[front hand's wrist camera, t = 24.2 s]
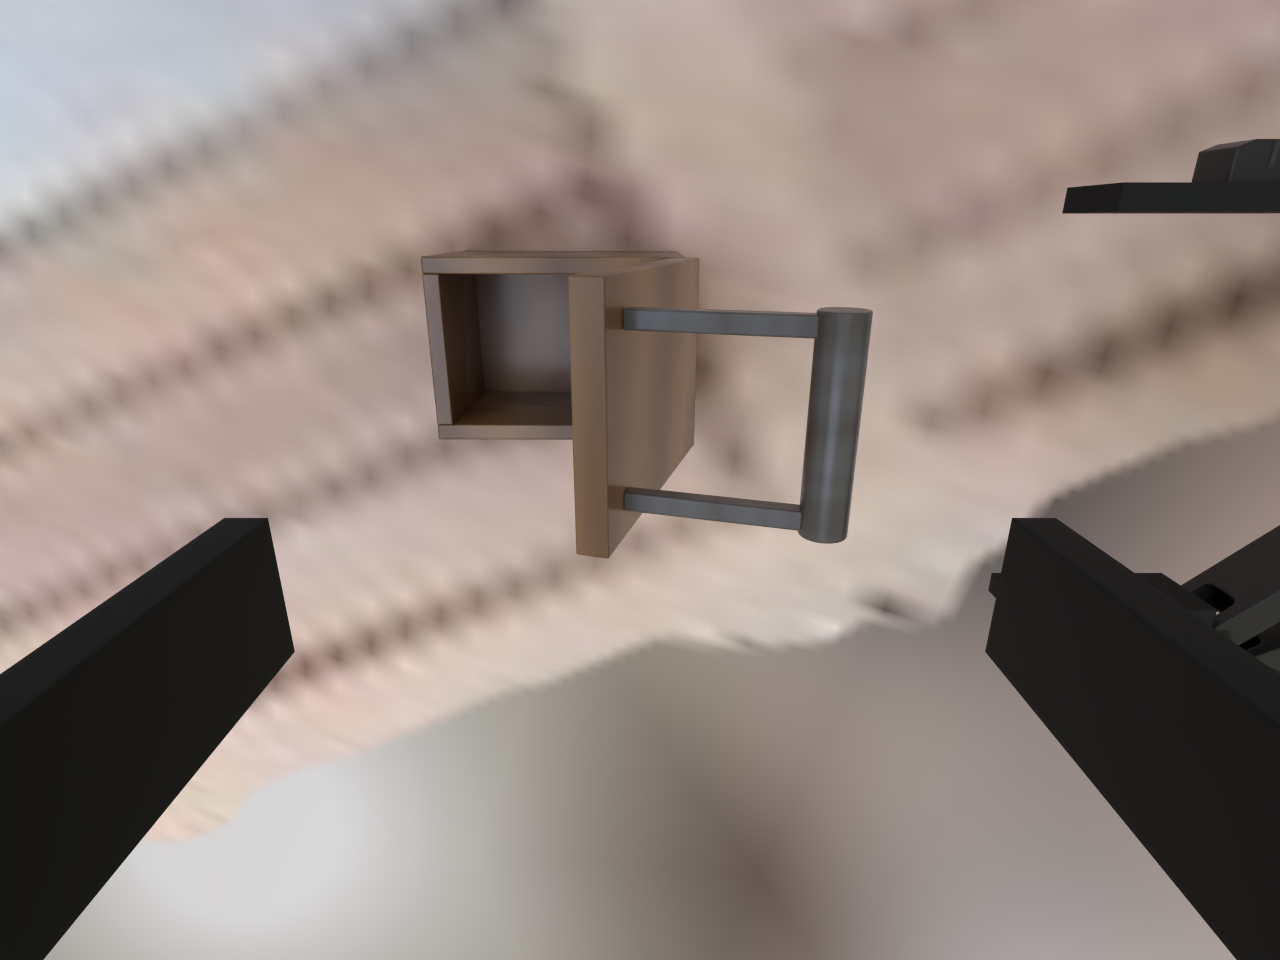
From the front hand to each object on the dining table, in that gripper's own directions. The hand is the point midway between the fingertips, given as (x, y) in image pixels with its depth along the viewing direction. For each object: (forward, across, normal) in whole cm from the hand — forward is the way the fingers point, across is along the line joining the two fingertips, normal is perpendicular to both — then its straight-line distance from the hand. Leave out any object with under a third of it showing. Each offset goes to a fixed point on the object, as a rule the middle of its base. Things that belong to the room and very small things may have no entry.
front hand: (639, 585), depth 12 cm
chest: (+33, -4, 0) cm, 34 cm away
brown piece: (+17, 0, 0) cm, 17 cm away
